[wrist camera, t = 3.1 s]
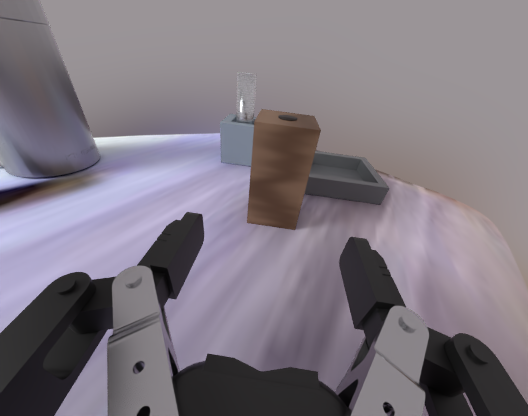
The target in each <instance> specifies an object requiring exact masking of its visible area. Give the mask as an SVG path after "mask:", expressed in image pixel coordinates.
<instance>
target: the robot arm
mask: <svg viewBox="0 0 528 416" xmlns="http://www.w3.org/2000/svg"><path fill="white" fill-rule="evenodd" d="M99 159H100V154H99V152H98V149H97V147H96V144H95V141H94V139H93V136H92V134H91V131H90V128H89V125H88V123H87V120H86V118H85V115H84V113H83V110H82V107H81V105H80V102H79V100H78V97H77V95H76V92H75V89H74V87H73V84H72V82H71V79H70V76H69V74H68V71H67V69H66V66H65V64H64V61H63V59H62V56H61V53H60V51H59V48H58V45H57V43H56V41H55V38H54V35H53V33H52V30H51V27H50V26H49V23H48V20H47V17H46V15H45V12H44V10H43V7H42V5H41V2H40V0H0V166H2V167H4V168H5V170H6V171H7V172H8V173H9V174H12V175H14V176H20V177H32V178H35V177H50V176H57V175H63V174H68V173H72V172H76V171H79V170H82V169H85V168H87V167H89V166H92V165H93V164H95V163H96V162H97V161H98V160H99ZM203 241H204V227H203V217H202V214H198V213H191V212H187V213H186V214H185V215H184V216H183V218H182V219H181V221H180V220H175V221H173V222H172V223H170V224H169V225H167V227H166V228H165V229H164V230H163V232H162V234H160V236H159V237H158V238H157V241H155V242H154V244H153V245H152V246H151V248H150V249H149V250H148V252H147V253H146V254H145V256H144V257H143V258H142V260H141V261H140V262H139V264H138V265H137V266H133V267H130V268H128V269H126V270H124V271H122V272H121V273H120V274H119V275H118V276H117V277H110V278H103V279H95V280H91V278H90V277H89V275H88V274H86V273H83V272H74V273H70V274H67V275H64V276H62V277H60V278H58V279H56V280H55V281H53V282H52V283H51V284H50V285H49V286H47V287H46V288H45V289H44V290H43V291H42V292H41V293H40V294H39V295H38V296H37V297H36V298H35V299H34V300H33V301H32V302H31V303H30V304H29V305H28V306H27V307H26V308H25V309H24V310H23V311H22V312H21V313H20V314H19V315H18V316H17V317H16V318H15V319H14V320H13V321H12V322H11V323H10V324H9V325H8V326H7V327H6V328H5V329H4V330H3V331H2V332H1V333H0V416H54V415H55V413H56V412H57V410H58V409H59V407H60V405H61V404H62V402H63V401H64V399H65V397H66V396H67V394H68V392H69V391H70V389H71V388H72V386H73V384H74V383H75V381H76V380H77V378H78V376H79V375H80V373H81V372H82V370H83V368H84V367H85V365H86V364H87V362H88V360H89V359H90V357H91V356H92V354H93V352H94V351H95V349H96V347H97V346H98V344H99V343H100V341H101V339H102V338H103V336H104V335H105V333H106V331H107V330H108V329H113V335H112V336H110V337H109V339H108V345H107V365H108V416H422V413H423V408H424V403H425V406H426V409H427V412H428V414H429V416H473V414H472V412H471V410H470V408H469V405H468V403H467V401H466V399H465V397H464V395H463V393H466V395H467V397H468V399H469V401H470V403H471V405H472V407H473V409H474V411H475V413H476V415H477V416H528V404H527V403H526V401H525V400H524V398H523V397H522V395H521V394H520V392H519V391H518V389H517V387H516V386H515V384H514V383H513V381H512V380H511V378H510V377H509V375H508V374H507V372H506V371H505V369H504V368H503V366H502V365H501V363H500V361H499V360H498V358H497V357H496V356H495V354H494V353H493V352H492V351H491V350H490V349H489V348H488V347H487V346H486V345H485V344H483V343H482V342H481V341H479V340H478V339H476V338H474V337H472V336H470V335H468V334H463V333H459V334H456V335H455V336H453V337H452V338H451V337H448V336H446V335H444V334H442V333H439V332H437V331H435V330H433V329H431V328H428V327H427V326H426V324H425V323H424V321H423V320H422V319H421V318H420V317H419V316H418V315H417V314H416V313H415V312H413V311H412V310H410V309H408V308H406V306H405V304H404V302H403V299H402V297H401V295H400V293H399V291H398V289H397V287H396V285H395V283H394V280H393V278H392V277H391V274H390V272H389V270H388V269H387V266H386V264H385V261H384V259H383V258H382V257H381V256H380V255H379V254H378V252H377V251H376V250H371V247H370V245H369V243H368V241H367V239H363V238H356V237H350V238H349V240H348V242H347V244H346V246H345V248H344V250H343V252H342V254H341V256H340V261H339V265H340V270H341V274H342V279H343V283H344V287H345V291H346V295H347V299H348V303H349V308H350V312H351V316H352V320H353V324H354V328H355V329H360V330H364V333H365V337H364V339H363V340H362V342H361V344H360V347H359V349H358V351H357V353H356V355H355V357H354V359H353V361H352V363H351V365H350V367H349V369H348V371H347V373H346V375H345V377H344V378H343V380H342V381H341V382H340V384H339V386H338V387H337V389H336V391H335V392H334V391H333V390H331V389H330V388H329V387H328V386H326V385H325V384H323V383H322V382H320V381H318V372H316V371H310V370H303V369H297V368H291V367H289V368H283V369H277V370H271V371H265V372H262V371H258V370H256V369H255V368H253V367H251V366H249V365H247V364H245V363H243V362H241V361H239V360H237V359H235V358H231V357H225V356H219V355H213V354H207V357H206V361H203V362H199V363H196V364H193V365H191V366H188V367H186V368H185V369H183V370H181V371H179V366H178V362H177V358H176V354H175V351H174V347H173V343H172V339H171V334H170V330H169V325H168V321H167V316H166V312H165V307H164V305H165V303H166V302H167V300H168V298H171V299H176V298H177V296H178V294H179V292H180V290H181V288H182V286H183V284H184V282H185V280H186V278H187V276H188V274H189V272H190V269H191V267H192V265H193V263H194V261H195V259H196V257H197V255H198V253H199V251H200V249H201V247H202V244H203Z"/></svg>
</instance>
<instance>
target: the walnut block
mask: <svg viewBox="0 0 528 416" xmlns="http://www.w3.org/2000/svg"><path fill="white" fill-rule="evenodd" d="M320 131H321V130H320V128H319V125H318V123H317V121H316V119H315V117H314V116H309V115H302V114H295V113H287V112H279V111H272V110H264V109H262V110H261V111H260V113H259V114H258V116H257V118H256V119H255V121H254V133H253V147H252V161H251V175H250V189H249V203H248V217H247V223H251V224H258V225H265V226H272V227H279V228H285V229H292V230H295V228H296V224H297V220H298V216H299V212H300V208H301V205H302V201H303V197H304V193H305V189H306V185H307V181H308V178H309V174H310V170H311V166H312V162H313V158H314V154H315V151H316V147H317V143H318V139H319V135H320Z"/></svg>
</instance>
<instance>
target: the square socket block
mask: <svg viewBox="0 0 528 416" xmlns="http://www.w3.org/2000/svg"><path fill="white" fill-rule="evenodd" d="M256 118H257V117H254V121H255V119H256ZM254 121H253V125H252V124H245V123H237V122H236V115H234V114H229V115H228V116H227V117H226V118H225V119H224V120H222V121H221V122H220V137H221V162H223V163H230V164H237V165H244V166H251V161H252V147H253V133H254Z"/></svg>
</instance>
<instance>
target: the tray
mask: <svg viewBox="0 0 528 416" xmlns="http://www.w3.org/2000/svg"><path fill="white" fill-rule="evenodd" d="M388 190H389V187H388V186H387V184H386V183H385V182H384V181H383V179H382V178H381V177H380V176H379V174H378V173H377V172H376V171H375V169H374V168H373V167H372V166H371V164H370V163H369V162H368V161H367V159H366V158H363V157H356V156H348V155H341V154H334V153H327V152H320V151H315V154H314V158H313V162H312V166H311V170H310V174H309V178H308V181H307V185H306V189H305V193H304V194H310V195H317V196H324V197H331V198H338V199H345V200H352V201H359V202H366V203H373V204H380V205H381V203H382V201H383V199H384V197H385V195H386V194H387V192H388Z"/></svg>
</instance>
